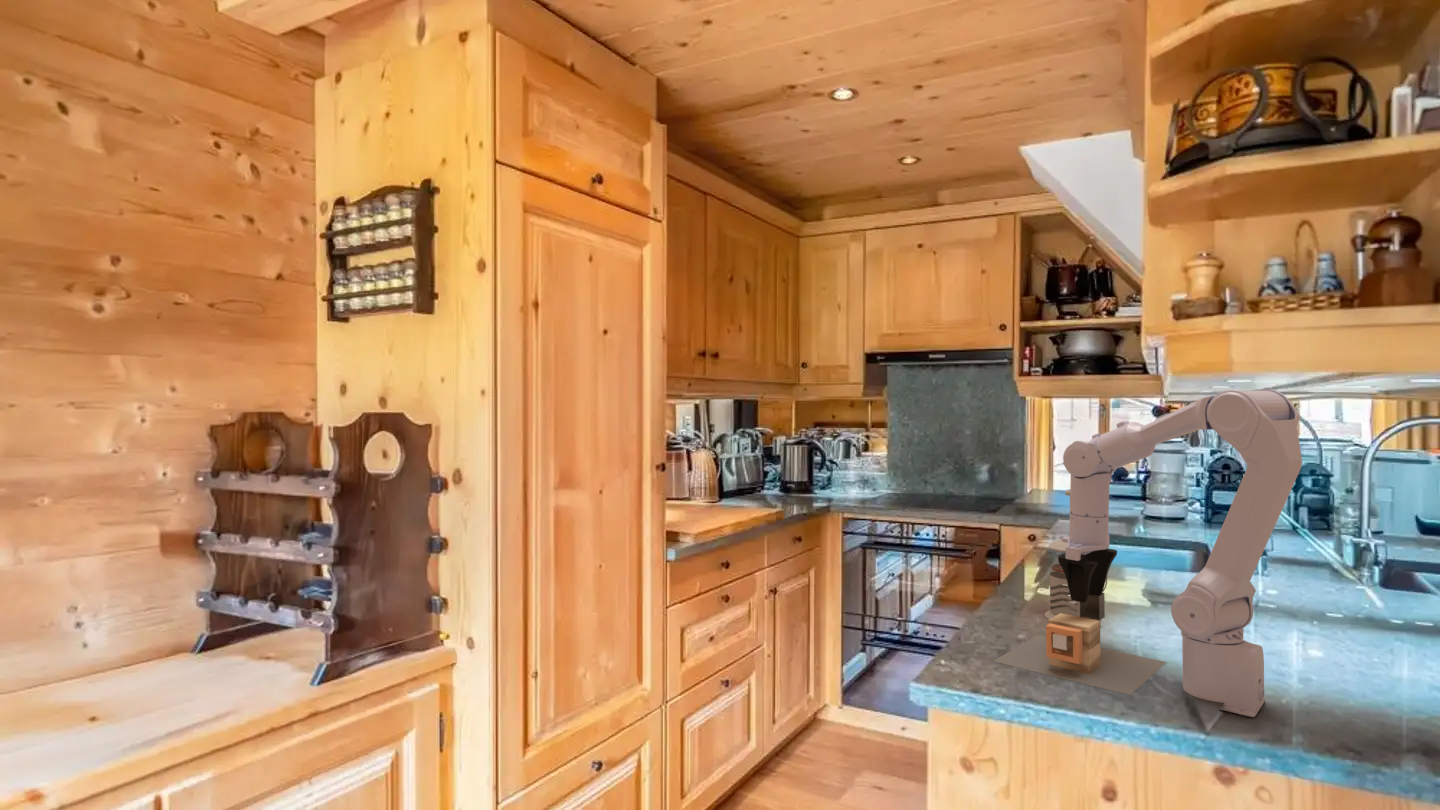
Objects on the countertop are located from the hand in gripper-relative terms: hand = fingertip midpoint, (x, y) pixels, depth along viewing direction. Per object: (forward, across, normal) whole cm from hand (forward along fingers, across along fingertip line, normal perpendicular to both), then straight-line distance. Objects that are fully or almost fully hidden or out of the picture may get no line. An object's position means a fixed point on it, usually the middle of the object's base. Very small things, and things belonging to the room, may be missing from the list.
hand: (1087, 596), depth 123 cm
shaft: (+5, +6, +1) cm, 8 cm away
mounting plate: (+10, +6, +1) cm, 12 cm away
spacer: (+7, +12, +1) cm, 14 cm away
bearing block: (+9, +8, +1) cm, 12 cm away
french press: (+11, -21, -9) cm, 25 cm away
